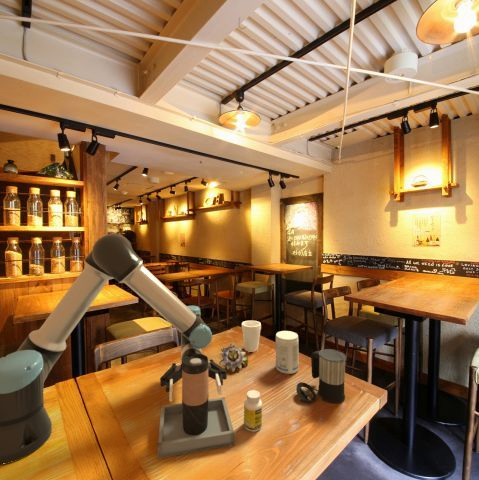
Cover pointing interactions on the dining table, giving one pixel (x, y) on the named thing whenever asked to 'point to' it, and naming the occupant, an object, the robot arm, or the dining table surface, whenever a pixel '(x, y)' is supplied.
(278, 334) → the supplement tub
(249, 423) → the supplement bottle
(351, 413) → the dining table surface
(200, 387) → the travel mug
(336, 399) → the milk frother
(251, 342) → the foam cup
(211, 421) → the tray
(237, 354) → the passion flower
